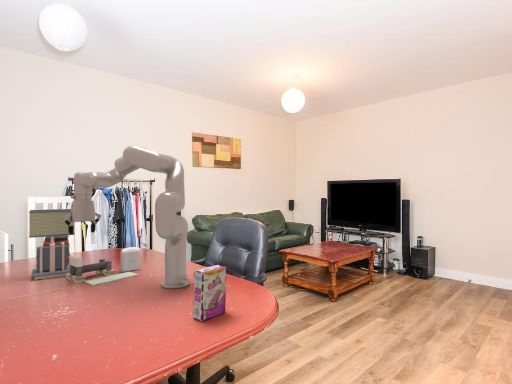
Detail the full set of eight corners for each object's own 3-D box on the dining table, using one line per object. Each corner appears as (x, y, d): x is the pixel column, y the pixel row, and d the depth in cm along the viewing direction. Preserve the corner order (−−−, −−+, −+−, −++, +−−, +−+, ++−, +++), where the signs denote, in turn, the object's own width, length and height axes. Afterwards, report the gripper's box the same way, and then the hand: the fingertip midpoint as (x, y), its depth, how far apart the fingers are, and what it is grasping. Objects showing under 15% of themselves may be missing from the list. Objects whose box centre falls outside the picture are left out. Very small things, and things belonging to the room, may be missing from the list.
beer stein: (39, 262, 182) (39, 228, 182) (68, 259, 191) (68, 226, 191) (41, 269, 167) (41, 232, 167) (72, 265, 176) (73, 230, 176)
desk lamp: (72, 269, 167) (72, 208, 167) (74, 275, 155) (74, 210, 155) (30, 274, 157) (30, 209, 157) (29, 281, 145) (29, 211, 145)
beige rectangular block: (82, 266, 146) (82, 257, 146) (76, 267, 144) (76, 258, 144) (75, 263, 152) (75, 255, 152) (69, 264, 150) (69, 256, 150)
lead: (106, 269, 161) (105, 262, 162) (109, 267, 159) (108, 260, 160) (71, 276, 148) (69, 268, 149) (73, 274, 146) (72, 266, 147)
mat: (137, 275, 156) (137, 274, 156) (92, 285, 139) (92, 284, 139) (129, 272, 161) (129, 271, 161) (84, 282, 144) (84, 281, 144)
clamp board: (114, 275, 157) (115, 261, 157) (76, 283, 143) (76, 268, 143) (103, 271, 164) (103, 257, 164) (66, 278, 150) (66, 264, 150)
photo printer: (138, 268, 171) (138, 245, 171) (141, 269, 168) (141, 246, 168) (119, 271, 164) (119, 247, 164) (122, 272, 161) (122, 249, 161)
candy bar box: (202, 322, 101) (202, 272, 101) (192, 318, 105) (192, 270, 104) (226, 312, 110) (226, 266, 110) (216, 309, 113) (217, 264, 113)
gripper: (65, 198, 141) (65, 235, 142) (104, 198, 155) (103, 232, 155) (59, 197, 146) (59, 234, 146) (97, 197, 160) (97, 230, 160)
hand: (82, 233), depth 151 cm, fingers open, 9 cm apart
